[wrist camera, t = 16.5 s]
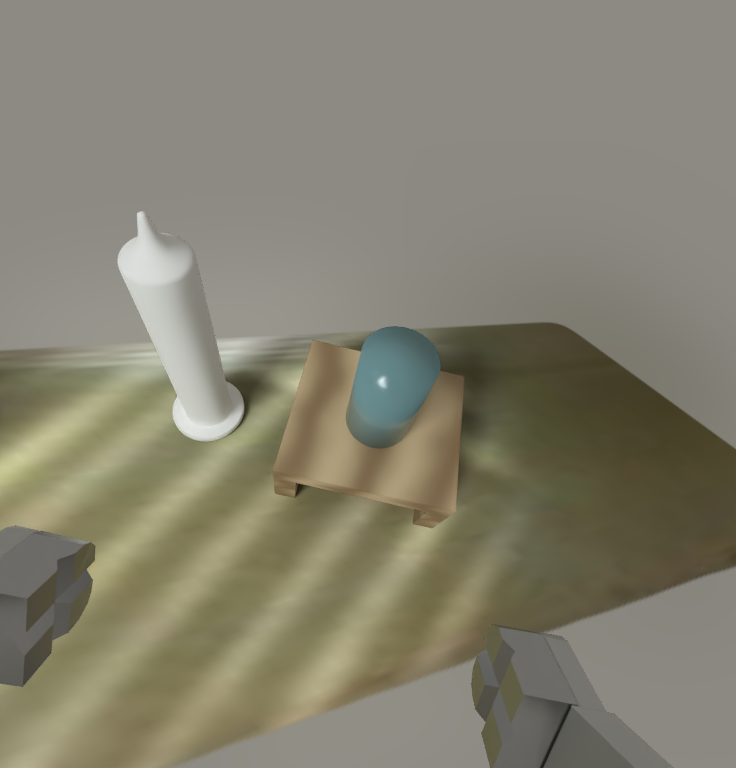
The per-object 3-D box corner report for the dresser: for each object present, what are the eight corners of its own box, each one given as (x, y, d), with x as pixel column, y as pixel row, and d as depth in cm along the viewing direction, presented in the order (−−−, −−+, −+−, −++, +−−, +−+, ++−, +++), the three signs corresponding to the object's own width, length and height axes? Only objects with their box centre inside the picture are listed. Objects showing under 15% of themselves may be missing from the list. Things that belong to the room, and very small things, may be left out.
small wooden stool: (274, 493, 42) (273, 470, 36) (309, 375, 49) (312, 339, 43) (432, 528, 43) (455, 511, 37) (443, 406, 50) (464, 376, 44)
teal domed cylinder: (339, 439, 38) (353, 382, 30) (352, 384, 42) (369, 318, 33) (404, 455, 39) (436, 402, 30) (412, 398, 42) (444, 337, 33)
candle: (228, 372, 48) (181, 162, 26) (255, 423, 45) (227, 238, 24) (163, 397, 45) (53, 187, 24) (188, 453, 43) (90, 274, 21)
